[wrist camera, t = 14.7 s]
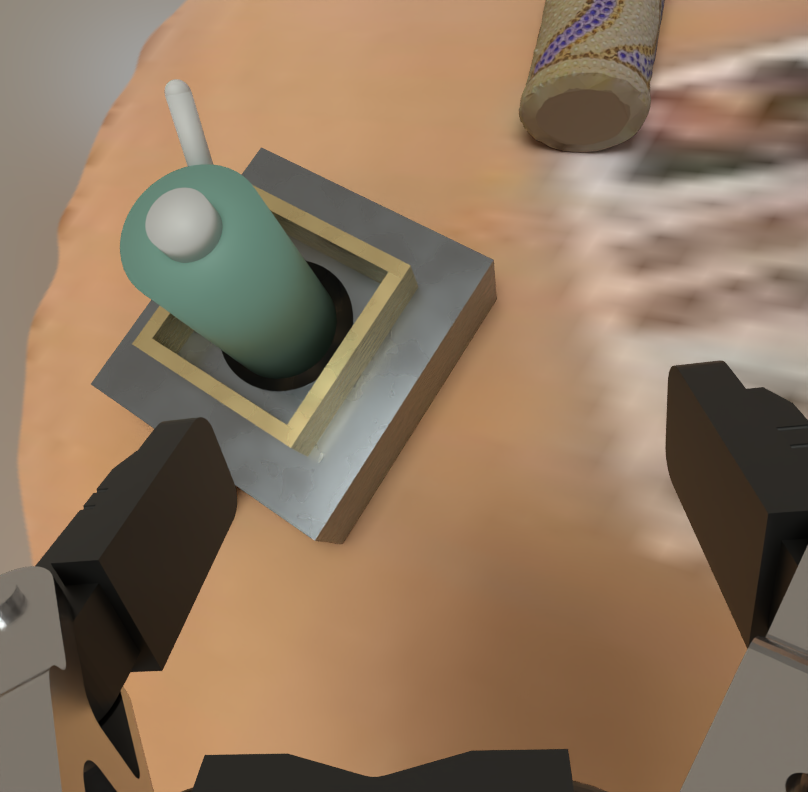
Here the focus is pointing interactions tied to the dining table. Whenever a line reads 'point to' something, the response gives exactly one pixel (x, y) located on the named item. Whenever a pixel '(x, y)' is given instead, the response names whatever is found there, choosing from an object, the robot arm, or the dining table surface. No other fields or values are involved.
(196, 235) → the oil can
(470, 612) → the dining table surface
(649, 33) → the decorative bottle
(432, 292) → the grey metal block
